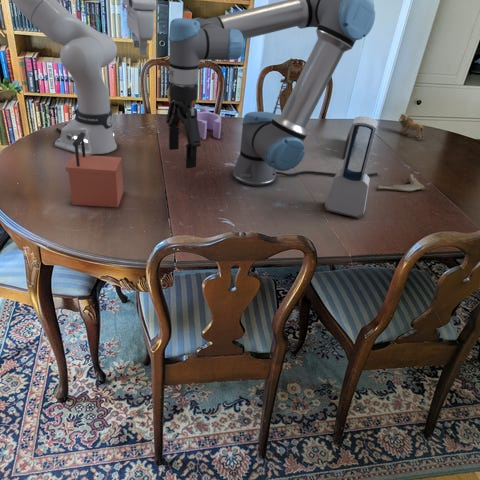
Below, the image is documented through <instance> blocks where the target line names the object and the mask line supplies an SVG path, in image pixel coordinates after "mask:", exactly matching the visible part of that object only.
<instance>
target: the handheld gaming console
mask: <svg viewBox="0 0 480 480" xmlns="http://www.w3.org/2000/svg"><path fill="white" fill-rule="evenodd" d="M352 125H353V123H352V124H351V127H350V129H349V131H348V133H347V135H346V136H347V137H346V141H345V146H344V150H343V154H342V158H343V159H345V155H346V151H347V146H348V142H349V138H350V133H351V129H352ZM359 129H360V126H359V127H357V131H356V136H355V140H354V144H353V147H354V145H355V144H356V141H357V136H358V133H359Z"/></svg>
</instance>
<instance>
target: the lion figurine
mask: <svg viewBox="0 0 480 480" xmlns="http://www.w3.org/2000/svg"><path fill="white" fill-rule="evenodd" d="M398 123H400V125H401V127H402V128H404V129H403V132H402V135H404V136H405V135H406V134H407V133H408V132H406V131H409V130H411V131H415V132H416V134H417V135H418V136H417V135H415V137H416V138H417V141H420V140H421V139H423V138H425V136H424V125H423V124H422V123H419V122H415V121H414V120H413V119H412V118H411V117H410V116H409V115H408V114H406V113H402V114H401V113H400V116H399V119H398ZM404 132H405V133H404ZM419 138H421V139H419Z"/></svg>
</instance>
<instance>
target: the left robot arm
mask: <svg viewBox="0 0 480 480" xmlns="http://www.w3.org/2000/svg"><path fill="white" fill-rule="evenodd" d="M11 2H12V3H13V4H14V6H15V7H16V8H17V9H18V11H19V12H20V13H21V14H22V15H23V17H25V18H26V20H28V21H29V22H30V23H31V24H32V25H33V26H34V27H35V28H36V29H38V30H39V31H40V32H41V33H42V34H43V35H44V36H45V37H47V38H48V39H49V40H50V41H52V42H53V43H55V44H59V45H61V46H62V48H60V53H59V59H60V63H61V66H62V67H63V68H64V70H65V71H66V72H68V73H69V74H70V76H71V79H72V81H73V83H74V87H75V91H76V101H77V108H76V109H75V110H74V111H71V115H72V116H74V115H75V116H74V118H73V119H72V120H71V121H69V122H68V123H67V122H66V123H64V124H63V126H62V128H61V129H60V128H58V127H56V128H55V130H56V131H57V132H59V133H60V137H59V138H57V139H56V140H55V142H54V146H55V147H57V148H59V149H62V150H65V151H69V152H72V153H74V154H75V147H74V146H73V142H74V141H75V139H76V138H77V137H78V135H79V134H80V133H81V132H83V133H84V134H85V137H84V146H85V155H91V156H93V155H105V154H108V153H111V152H114V151H115V150H116V149H117V148H118V145H117V142H116V140H115V133H114V131H113V111H112V109H111V97H110V88H109V87H108V85H107V84H106V83H105V82H104V79H103V76H102V69H103V68H105V67H107V66H109V65H111V63H112V62H113V61H114V60H115V59H116V57H117V56H118V55H117V53H118V48H117V44H116V42H115V40H114V39H113V38H112V37H111V36H110V35H108V34H106V33H103V32H100V31H99V30H97V29H95V28H93V27H92V26H90V25H89V24H87V23H86V22H84V21H82V20H81V19H80V18H78V17H76V16H75V15H74V14H72V13H71V12H70V11H69V10H68V9H67V8H65V6H63V5H62V4H61V3H60V2H59V1H58V0H11ZM122 4H123V5H125V6H126V25H127V28H128V29H129V30H130V31H131V38H132V46H133V47H134V48H137V49H138V53H139V55H141V56H146V55H147V47H148V44H149V43H148V41H149V42H150V41H153V37H154V27H155V11H157V1H156V0H122ZM78 153H79V155H82V145H81V143H80V144H79V146H78Z"/></svg>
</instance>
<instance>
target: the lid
mask: <svg viewBox="0 0 480 480" xmlns="http://www.w3.org/2000/svg"><path fill="white" fill-rule="evenodd" d="M84 137H85V134H84V133H83V132H81V133H80V134H79V135H78V137H77V138H76V139H75V141H74V142H73V146H74V147H75V153H74V154H73V155H72V157H71V158H70V160H69V161H68V163H67V165H66V166H65V172H68V173H69V172H84V173H99V174H114V175H116V173H117V171H118V169H119V166H120V164H121V162H122V163H123V160H122V159H123V158H122V157H118V156H106V155H105V156H104V155H103V156H102V155H85V146H84ZM80 143H81V145H82V155H80V154H79V153H78V146H79V144H80Z"/></svg>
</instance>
